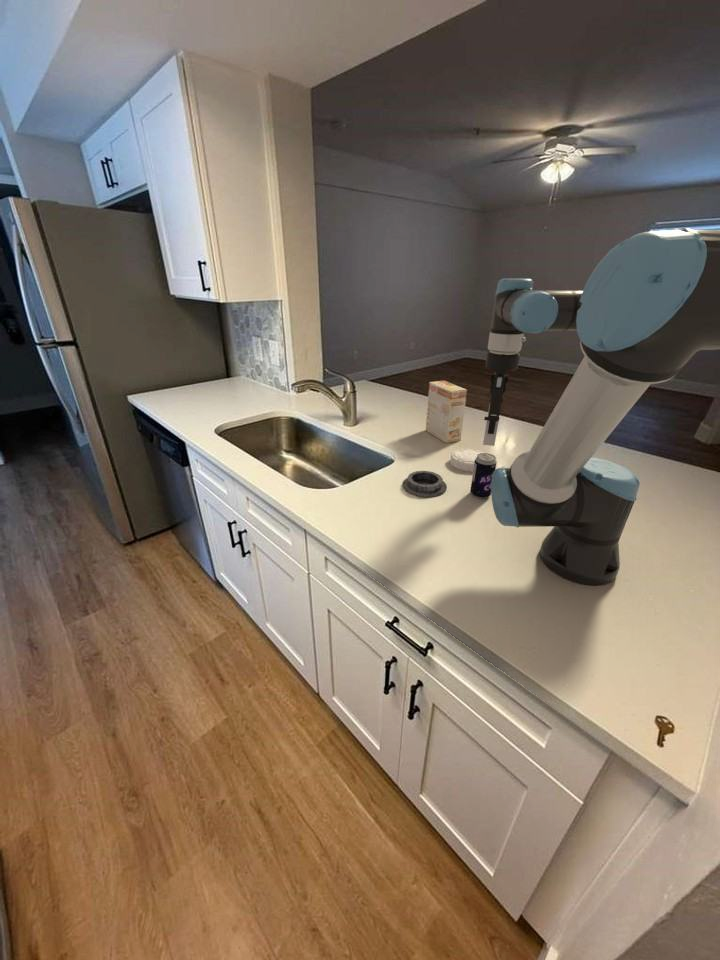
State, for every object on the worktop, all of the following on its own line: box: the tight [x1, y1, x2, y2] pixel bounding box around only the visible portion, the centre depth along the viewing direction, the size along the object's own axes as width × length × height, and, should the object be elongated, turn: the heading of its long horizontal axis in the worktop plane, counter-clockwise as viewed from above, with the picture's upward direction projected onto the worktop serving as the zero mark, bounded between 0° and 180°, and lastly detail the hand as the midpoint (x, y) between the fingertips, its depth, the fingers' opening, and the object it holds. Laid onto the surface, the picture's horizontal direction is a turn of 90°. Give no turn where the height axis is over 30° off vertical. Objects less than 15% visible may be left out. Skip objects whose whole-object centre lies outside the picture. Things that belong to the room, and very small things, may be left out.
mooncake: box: [449, 448, 484, 473], centre depth 128 cm, size 12×12×4 cm
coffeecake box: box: [425, 380, 468, 444], centre depth 147 cm, size 15×7×20 cm, turn 22°
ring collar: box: [402, 470, 448, 498], centre depth 115 cm, size 13×13×3 cm
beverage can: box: [469, 452, 497, 500], centre depth 108 cm, size 6×6×12 cm
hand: (489, 435), depth 102 cm, fingers open, 13 cm apart
